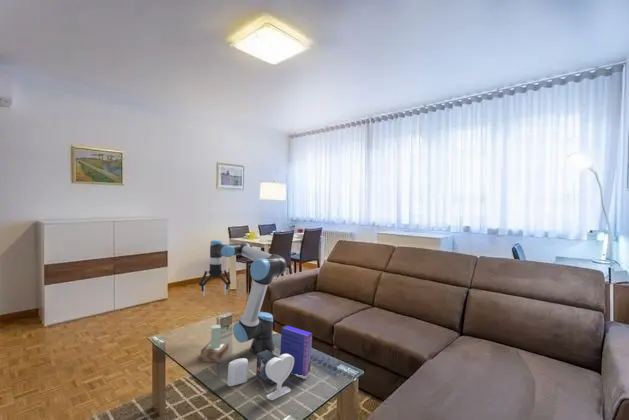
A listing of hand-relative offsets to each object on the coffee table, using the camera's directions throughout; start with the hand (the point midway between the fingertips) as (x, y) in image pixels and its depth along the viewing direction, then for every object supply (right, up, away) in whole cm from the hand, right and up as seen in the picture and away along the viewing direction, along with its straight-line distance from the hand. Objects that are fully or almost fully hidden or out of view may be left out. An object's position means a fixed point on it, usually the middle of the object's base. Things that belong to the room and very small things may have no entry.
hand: (214, 295), depth 211 cm
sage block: (+7, -25, -22) cm, 34 cm away
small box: (+42, -34, -41) cm, 67 cm away
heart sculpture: (+49, -34, -54) cm, 81 cm away
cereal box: (+56, -34, -35) cm, 74 cm away
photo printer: (+27, -33, -47) cm, 64 cm away
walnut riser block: (+7, -31, -22) cm, 38 cm away
